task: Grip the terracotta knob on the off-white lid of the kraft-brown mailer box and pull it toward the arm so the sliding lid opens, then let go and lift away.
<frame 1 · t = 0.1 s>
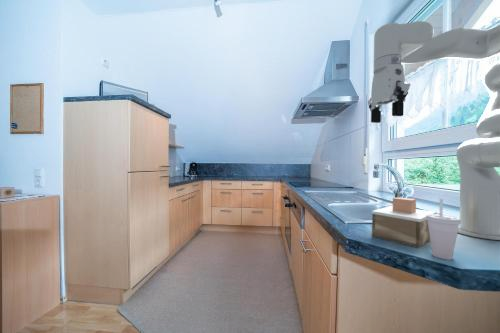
hand: (385, 119, 69), 37 cm above the table, tool pointing down, fingers open, 9 cm apart
smoothie: (442, 257, 52), on the table
lid: (404, 206, 67), point 9 cm above the table, slide at 0.0 cm
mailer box: (403, 236, 67), on the table
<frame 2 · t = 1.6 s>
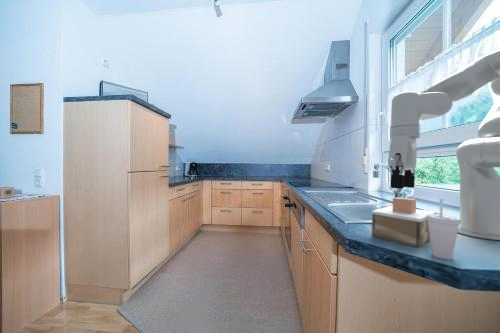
hand: (402, 187, 67), 15 cm above the table, tool pointing down, fingers open, 9 cm apart
nothing on the table moved.
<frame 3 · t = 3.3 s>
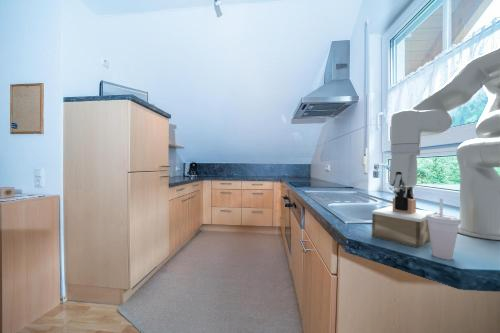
hand: (404, 208, 67), 9 cm above the table, tool pointing down, fingers closed on lid, 4 cm apart
lid: (404, 206, 67), point 9 cm above the table, slide at 0.0 cm, touching gripper
everything else where it was.
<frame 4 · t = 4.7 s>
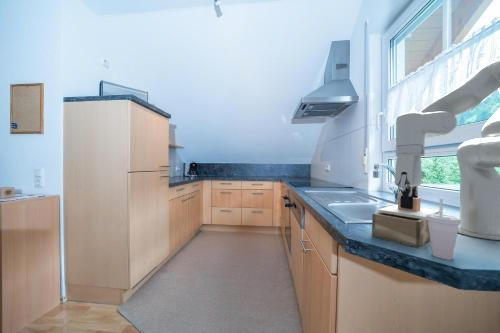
hand: (409, 207, 70), 9 cm above the table, tool pointing down, fingers closed on lid, 4 cm apart
lid: (409, 205, 70), point 9 cm above the table, slide at 4.5 cm, touching gripper
everything else where it was.
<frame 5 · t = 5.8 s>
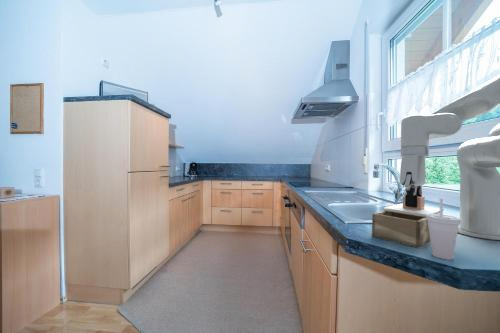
hand: (413, 205, 73), 9 cm above the table, tool pointing down, fingers closed on lid, 4 cm apart
lid: (413, 203, 73), point 9 cm above the table, slide at 9.0 cm, touching gripper
everything else where it was.
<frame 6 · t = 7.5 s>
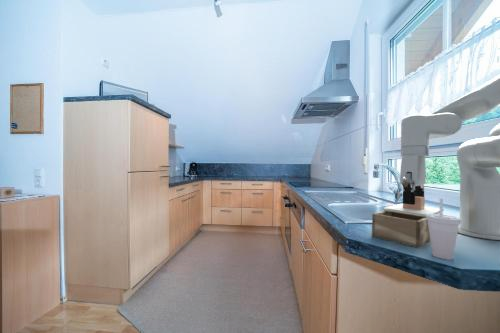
hand: (413, 202, 73), 10 cm above the table, tool pointing down, fingers open, 9 cm apart
lid: (413, 203, 73), point 9 cm above the table, slide at 9.0 cm
everything else where it was.
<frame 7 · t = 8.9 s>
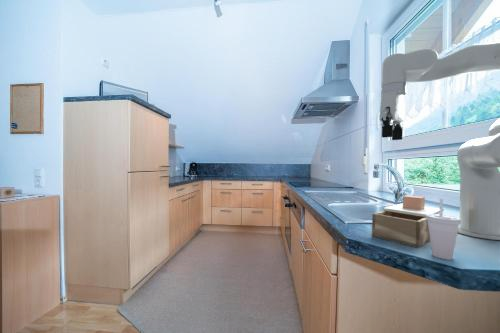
hand: (392, 138, 77), 32 cm above the table, tool pointing down, fingers open, 9 cm apart
nothing on the table moved.
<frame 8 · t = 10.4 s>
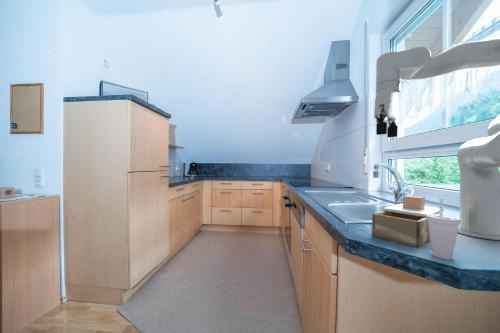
hand: (387, 135, 78), 33 cm above the table, tool pointing down, fingers open, 9 cm apart
nothing on the table moved.
at the end: lid slide at 9.0 cm; the gripper is holding nothing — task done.
